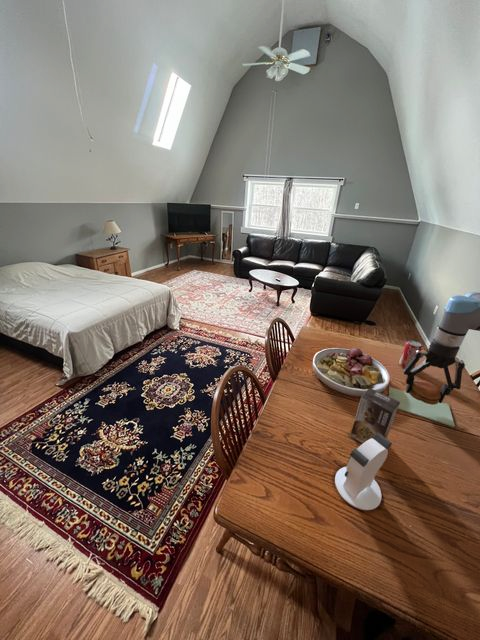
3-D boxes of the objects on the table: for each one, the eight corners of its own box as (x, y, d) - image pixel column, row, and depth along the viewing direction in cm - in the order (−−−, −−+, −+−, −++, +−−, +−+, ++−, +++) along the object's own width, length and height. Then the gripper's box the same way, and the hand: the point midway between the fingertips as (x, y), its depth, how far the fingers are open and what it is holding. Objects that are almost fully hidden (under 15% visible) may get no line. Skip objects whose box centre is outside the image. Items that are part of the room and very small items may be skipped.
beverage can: (397, 366, 122) (406, 343, 117) (399, 360, 127) (407, 338, 122) (413, 371, 119) (422, 348, 114) (414, 365, 124) (423, 342, 119)
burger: (443, 407, 92) (448, 397, 90) (413, 402, 94) (418, 392, 92) (431, 389, 101) (435, 379, 99) (404, 385, 103) (408, 375, 101)
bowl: (381, 412, 95) (388, 395, 92) (301, 382, 109) (304, 366, 105) (389, 371, 118) (394, 356, 115) (322, 350, 132) (325, 336, 129)
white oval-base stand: (354, 459, 78) (366, 420, 71) (391, 493, 69) (410, 453, 63) (325, 479, 71) (337, 439, 65) (363, 519, 63) (380, 478, 57)
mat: (448, 405, 100) (448, 404, 100) (454, 427, 90) (455, 426, 90) (389, 387, 108) (389, 386, 108) (388, 406, 98) (389, 405, 98)
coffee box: (386, 442, 84) (401, 402, 77) (378, 454, 79) (394, 413, 73) (357, 424, 89) (369, 386, 83) (348, 435, 85) (360, 395, 78)
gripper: (408, 338, 89) (389, 391, 98) (492, 357, 80) (462, 413, 90) (407, 329, 95) (389, 380, 105) (485, 346, 86) (457, 400, 96)
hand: (423, 395), depth 97 cm, fingers closed on burger, 9 cm apart
